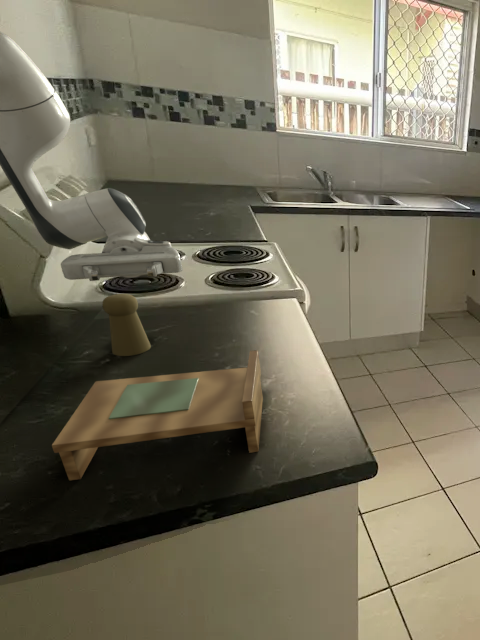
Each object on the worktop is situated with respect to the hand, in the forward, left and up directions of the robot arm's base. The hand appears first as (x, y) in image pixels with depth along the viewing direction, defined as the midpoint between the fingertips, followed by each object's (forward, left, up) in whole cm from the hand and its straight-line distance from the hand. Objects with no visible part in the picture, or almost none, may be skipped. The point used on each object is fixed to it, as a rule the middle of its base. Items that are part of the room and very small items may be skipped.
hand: (123, 275), depth 97 cm
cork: (+2, -12, -11) cm, 17 cm away
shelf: (+15, -44, -11) cm, 48 cm away
